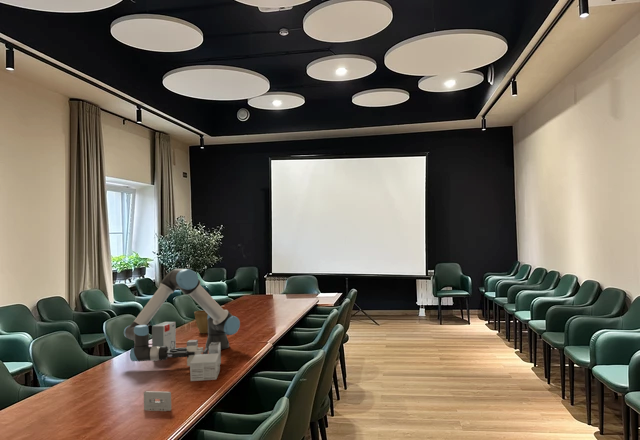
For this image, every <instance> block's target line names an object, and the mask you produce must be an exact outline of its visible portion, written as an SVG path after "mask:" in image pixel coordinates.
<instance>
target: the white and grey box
mask: <svg viewBox="0 0 640 440" xmlns="http://www.w3.org/2000/svg"><path fill="white" fill-rule="evenodd" d="M198 346H199V339H189V340H188V341H187V342H186V347H187V351H192V350H198V348H199V347H198ZM193 358H194V356H189V357H188V358H187V357H186V366H187V367H190V363H191V361H192V359H193Z"/></svg>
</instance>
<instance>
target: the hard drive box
mask: <svg viewBox="0 0 640 440" xmlns="http://www.w3.org/2000/svg"><path fill="white" fill-rule="evenodd" d="M176 329H177V327H176V321H164V322H160V323H157V324H155V325H152V327H151V347H155V346H159V347H161V346H167V347H168V350H170V349H172V348H177V343H176V342H177V341H176V336H177V335H176V334H177V333H176Z"/></svg>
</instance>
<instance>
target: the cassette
mask: <svg viewBox="0 0 640 440" xmlns="http://www.w3.org/2000/svg"><path fill="white" fill-rule="evenodd" d="M156 400H157V401H156ZM143 410H144V411H149V412H167V411H168V412H171V411H172V393H171V391H150V390H148V391H147V390H146V391H144V392H143Z"/></svg>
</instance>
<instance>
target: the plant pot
mask: <svg viewBox="0 0 640 440" xmlns="http://www.w3.org/2000/svg"><path fill="white" fill-rule="evenodd" d="M193 313H194V318H195V323H196V326H197V330H198V332H199V334H208V320H207V318H208V314H207V313H206V312H205V311H204V310H196V311H194V312H193Z"/></svg>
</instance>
